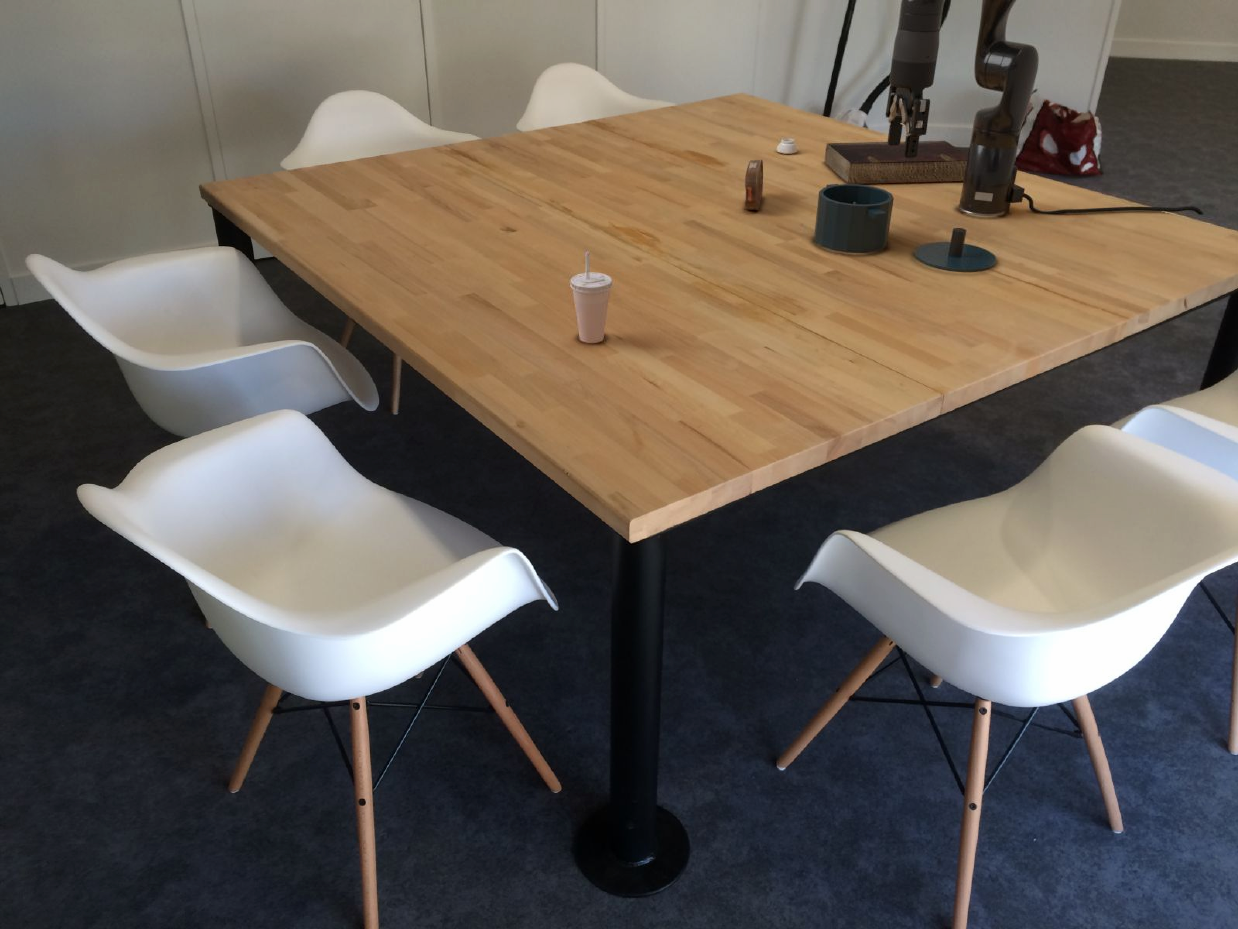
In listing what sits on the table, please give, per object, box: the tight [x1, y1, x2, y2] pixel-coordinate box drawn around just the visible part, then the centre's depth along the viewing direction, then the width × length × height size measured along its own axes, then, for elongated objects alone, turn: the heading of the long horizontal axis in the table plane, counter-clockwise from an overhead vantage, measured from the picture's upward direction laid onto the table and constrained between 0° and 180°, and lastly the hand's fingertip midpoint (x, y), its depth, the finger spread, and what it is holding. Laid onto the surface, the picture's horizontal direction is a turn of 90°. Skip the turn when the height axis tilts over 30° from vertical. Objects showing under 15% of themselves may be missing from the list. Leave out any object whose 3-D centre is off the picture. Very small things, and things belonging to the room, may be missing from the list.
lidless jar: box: [776, 138, 798, 155], centre depth 260 cm, size 5×3×5 cm
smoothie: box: [570, 251, 613, 344], centre depth 162 cm, size 6×6×14 cm
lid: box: [913, 227, 997, 273], centre depth 195 cm, size 15×15×6 cm
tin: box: [744, 159, 764, 211], centre depth 223 cm, size 15×3×8 cm, turn 168°
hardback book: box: [824, 140, 968, 184], centre depth 245 cm, size 29×19×5 cm, turn 97°
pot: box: [813, 183, 894, 254], centre depth 202 cm, size 14×19×10 cm
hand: (901, 150), depth 192 cm, fingers open, 8 cm apart
